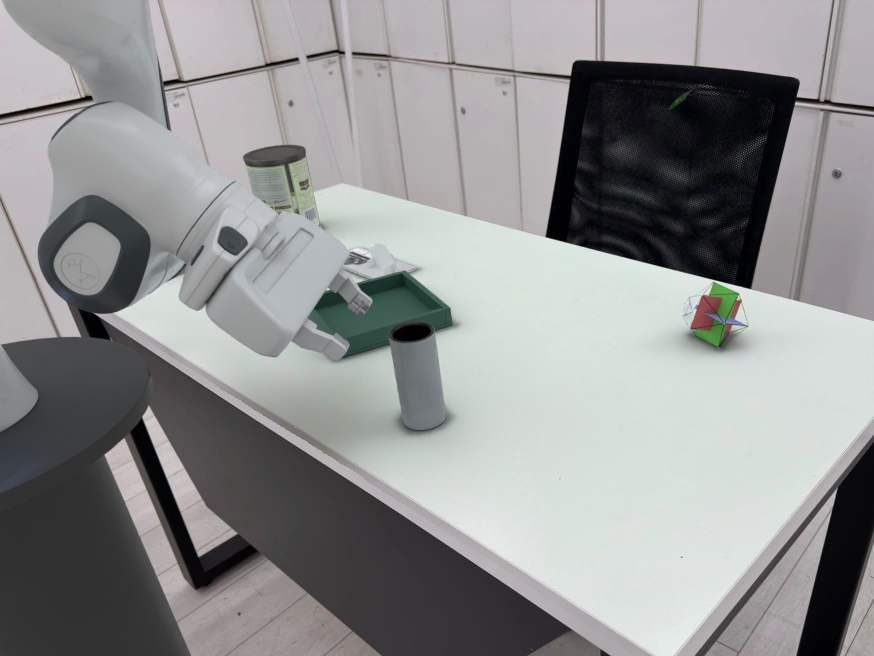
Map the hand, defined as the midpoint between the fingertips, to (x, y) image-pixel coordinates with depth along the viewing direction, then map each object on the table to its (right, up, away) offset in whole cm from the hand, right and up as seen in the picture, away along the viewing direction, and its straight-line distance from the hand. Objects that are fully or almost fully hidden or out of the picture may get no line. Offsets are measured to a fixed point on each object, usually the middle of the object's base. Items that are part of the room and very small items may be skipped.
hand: (356, 330), depth 73 cm
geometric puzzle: (+39, 0, +16) cm, 43 cm away
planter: (+6, -9, +5) cm, 12 cm away
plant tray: (-3, +3, +26) cm, 27 cm away
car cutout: (-7, +13, +43) cm, 46 cm away
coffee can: (-24, +22, +59) cm, 67 cm away
